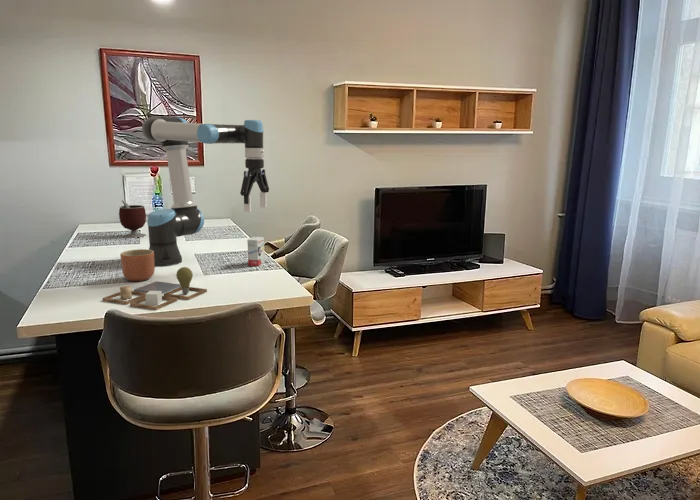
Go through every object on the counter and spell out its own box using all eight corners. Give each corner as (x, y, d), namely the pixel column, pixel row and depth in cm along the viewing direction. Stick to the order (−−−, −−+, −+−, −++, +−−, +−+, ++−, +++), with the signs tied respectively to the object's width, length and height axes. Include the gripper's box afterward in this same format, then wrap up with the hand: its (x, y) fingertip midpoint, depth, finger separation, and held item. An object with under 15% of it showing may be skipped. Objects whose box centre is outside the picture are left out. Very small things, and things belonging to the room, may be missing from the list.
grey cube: (146, 305, 177) (145, 294, 177) (150, 301, 181) (149, 290, 181) (157, 305, 177) (157, 294, 177) (162, 302, 181) (161, 290, 180)
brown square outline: (163, 296, 187) (163, 293, 187) (182, 288, 197) (182, 286, 197) (188, 299, 184) (188, 297, 183) (207, 291, 193) (206, 289, 193)
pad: (133, 291, 193) (133, 289, 193) (156, 282, 204) (156, 281, 204) (160, 294, 189) (160, 293, 189) (181, 286, 200) (181, 284, 200)
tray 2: (130, 306, 176) (130, 303, 176) (152, 297, 186) (152, 294, 186) (156, 309, 173) (155, 307, 172) (177, 300, 182) (177, 298, 182)
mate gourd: (152, 236, 300) (150, 201, 295) (131, 239, 288) (128, 203, 284) (135, 233, 308) (132, 199, 303) (114, 236, 296) (110, 201, 292)
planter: (135, 285, 201) (133, 257, 199) (115, 280, 208) (113, 253, 205) (162, 278, 212) (160, 251, 209) (142, 273, 218) (140, 247, 216)
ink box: (258, 266, 231) (257, 240, 229) (247, 265, 232) (246, 239, 230) (265, 262, 240) (264, 236, 237) (254, 261, 241) (254, 236, 238)
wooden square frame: (102, 300, 182) (102, 298, 181) (125, 292, 191) (125, 289, 191) (127, 304, 178) (126, 301, 178) (149, 295, 188) (149, 293, 188)
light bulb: (179, 292, 193) (177, 265, 191) (195, 291, 193) (193, 265, 191) (176, 296, 187) (174, 269, 185) (191, 296, 188) (190, 269, 186)
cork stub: (118, 299, 184) (117, 288, 183) (126, 296, 187) (125, 285, 186) (126, 300, 182) (125, 289, 182) (134, 297, 186) (133, 286, 185)
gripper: (247, 159, 204) (248, 214, 208) (276, 157, 227) (277, 206, 231) (230, 159, 206) (232, 212, 211) (260, 157, 229) (261, 205, 234)
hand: (255, 209), depth 221 cm, fingers open, 13 cm apart
